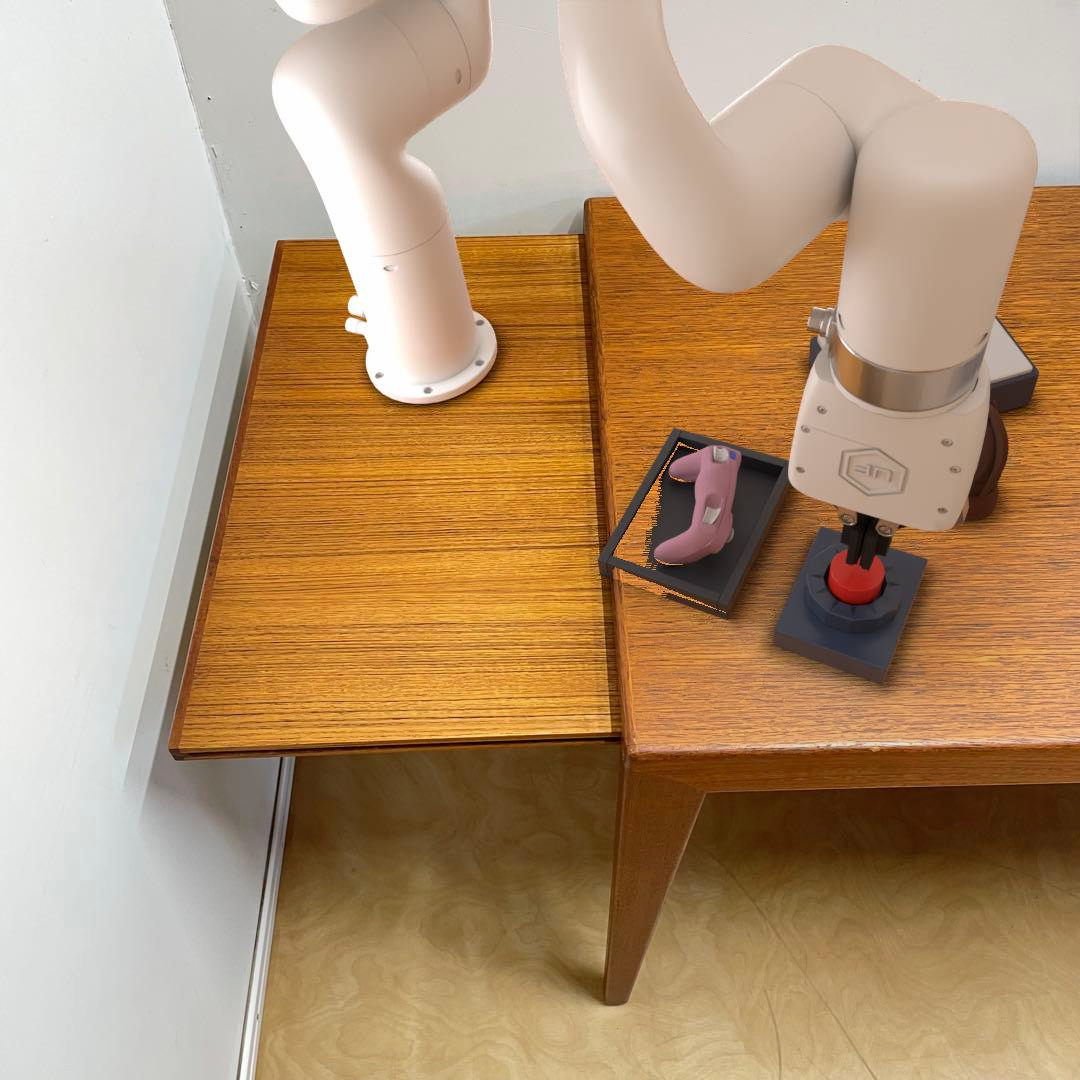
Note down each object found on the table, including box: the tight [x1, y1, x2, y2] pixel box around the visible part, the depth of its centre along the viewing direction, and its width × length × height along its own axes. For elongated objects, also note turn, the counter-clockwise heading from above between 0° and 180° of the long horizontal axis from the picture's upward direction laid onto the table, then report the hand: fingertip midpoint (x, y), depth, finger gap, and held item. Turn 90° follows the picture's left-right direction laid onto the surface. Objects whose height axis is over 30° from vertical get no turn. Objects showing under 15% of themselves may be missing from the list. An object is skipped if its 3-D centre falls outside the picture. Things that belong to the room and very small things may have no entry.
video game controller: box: [654, 445, 741, 564], centre depth 76 cm, size 10×5×7 cm, turn 168°
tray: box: [597, 427, 793, 621], centre depth 78 cm, size 11×15×2 cm
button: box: [828, 549, 885, 605], centre depth 69 cm, size 4×4×2 cm
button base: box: [772, 525, 929, 686], centre depth 71 cm, size 8×10×4 cm
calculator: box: [808, 315, 1040, 414], centre depth 83 cm, size 11×4×15 cm
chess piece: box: [964, 400, 1010, 522], centre depth 73 cm, size 5×5×10 cm
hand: (863, 550), depth 66 cm, fingers closed
